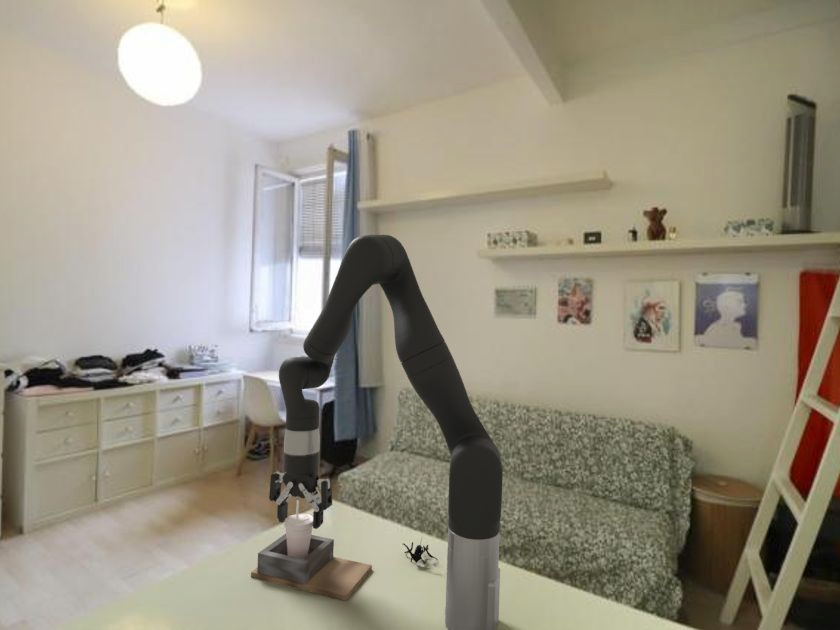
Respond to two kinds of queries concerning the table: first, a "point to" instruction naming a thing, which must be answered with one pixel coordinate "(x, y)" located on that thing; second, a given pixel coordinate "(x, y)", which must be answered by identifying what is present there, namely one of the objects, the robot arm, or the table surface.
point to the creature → (416, 555)
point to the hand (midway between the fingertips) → (299, 524)
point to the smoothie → (298, 533)
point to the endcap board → (311, 568)
